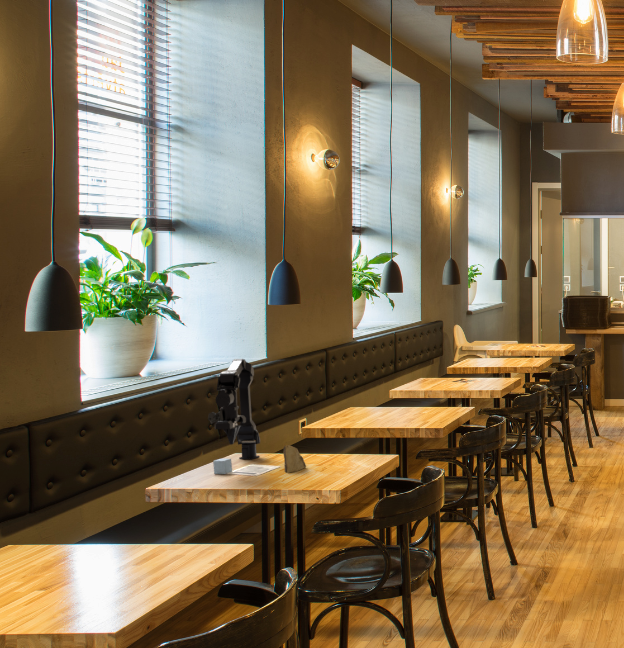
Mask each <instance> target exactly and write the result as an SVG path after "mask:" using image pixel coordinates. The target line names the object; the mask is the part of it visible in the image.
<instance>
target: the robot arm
mask: <svg viewBox="0 0 624 648" xmlns="http://www.w3.org/2000/svg"><path fill="white" fill-rule="evenodd" d="M231 362H232V363H230V365H229V366H228V368H227V370H223V371H221V372H220V373H219V375H218V378H217V385H216V391H218V392H219V391H220V392H219V393H218V394H217V395H216V397H215V403H216V405H217V406H218V407H219V408H220V409H219V410H220V411H218V412H214V411H212V412H209V413H208V416H207V421H209V422H210V424H211V425H212V424H214V430H223V431H224V432H225V434H226V437H227V440H228V442H229V445H234V444H235V440H237V445H238V446H239V445H241V456H240V457H239V458H238V459H241V460H254V459H257V458H259V457H260V455H257V445H259V444H261V438H260V433H259V431H258V430H257V426H256V423H255V422H254V420H253V419H252V405H251V404H252V403H251V402H252V401H251V384H252V382H253V380H254V376H255V370H254V369H255V368H254V366H253V364H251V363H249V362H248V361H246V359H244V358H234V359H232V361H231ZM238 390H239V391H238ZM237 392H238V393H239V405H238V393H237ZM239 409H240V410H239ZM238 410H239V412H240V415H239V413H238ZM238 423H239V424H238Z"/></svg>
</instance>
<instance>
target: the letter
mask: <svg viewBox="0 0 624 648" xmlns="http://www.w3.org/2000/svg"><path fill="white" fill-rule="evenodd" d="M279 468H282V466H280V465H278V466H277V465H269V464H255V463H254V464H253V463H252V464H249V465H245V466H243V467H239V468H236V469H234V470H232V472H229V473H226V474H227V475H238V476H239V475H240V476H252V477H253V476H254V477H257V476H260V475H262V474H265V473H268V472H271V471H275V470H277V469H279ZM226 474H225V475H226Z"/></svg>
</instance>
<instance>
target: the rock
mask: <svg viewBox="0 0 624 648" xmlns="http://www.w3.org/2000/svg"><path fill="white" fill-rule="evenodd" d="M303 457H304V456H302V455H301V453H300V452H299V450H298V448H297V447H295V446H292V445H289V444H288V445H284V446H283V458H284V464H283V465H284V467H283V468H284V472H285V473H286V474H291V473H295V472H298V471H300V470H301V471H302V470H303V469H306V468H307V464H306V462H305V459H304V458H303Z"/></svg>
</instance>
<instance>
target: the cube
mask: <svg viewBox="0 0 624 648" xmlns="http://www.w3.org/2000/svg"><path fill="white" fill-rule="evenodd" d="M232 471H233V466H232V458H219V459H214V460H213V474H215V475H226V473H229V472H232Z"/></svg>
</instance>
